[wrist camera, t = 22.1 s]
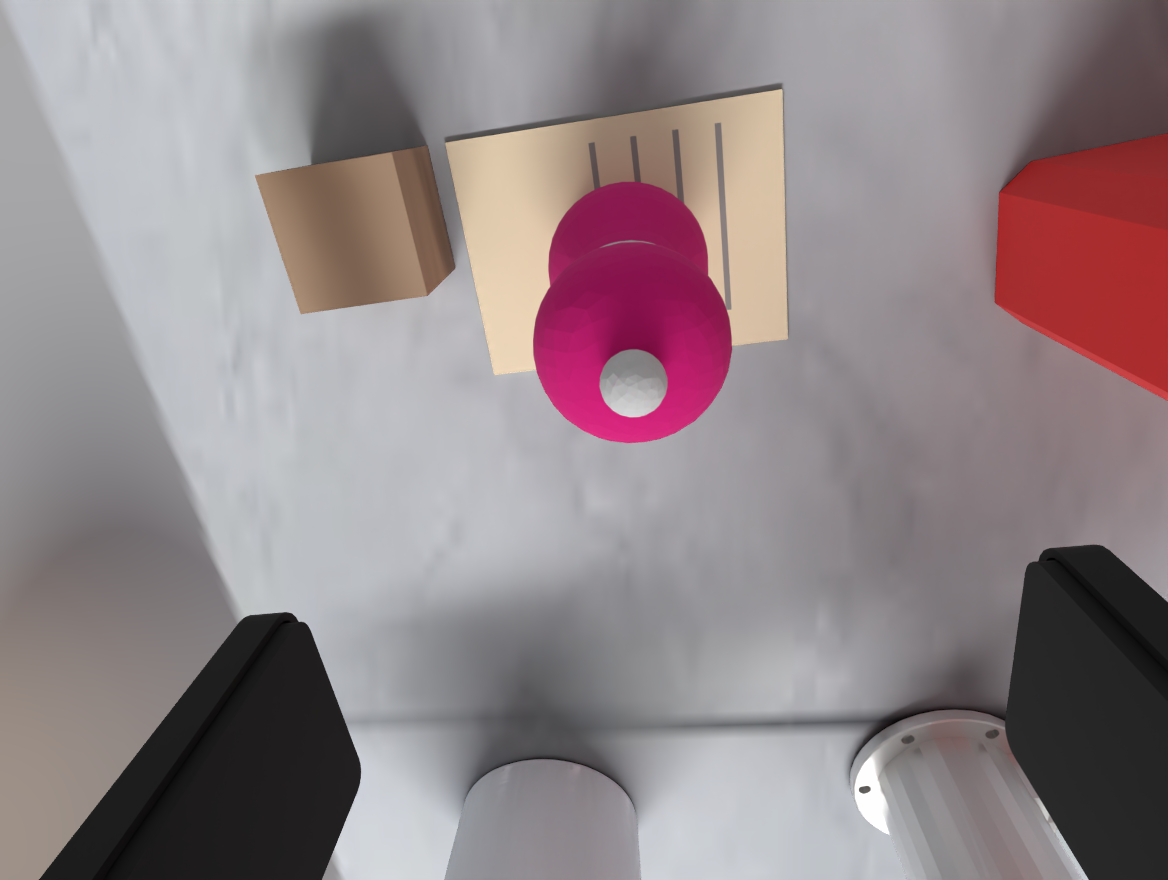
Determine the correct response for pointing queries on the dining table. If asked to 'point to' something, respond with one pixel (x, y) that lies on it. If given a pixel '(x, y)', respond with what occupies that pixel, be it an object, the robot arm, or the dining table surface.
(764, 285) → the letter
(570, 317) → the pepper mill
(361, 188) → the block
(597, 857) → the utensil holder
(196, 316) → the dining table surface
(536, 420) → the dining table surface
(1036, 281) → the book
